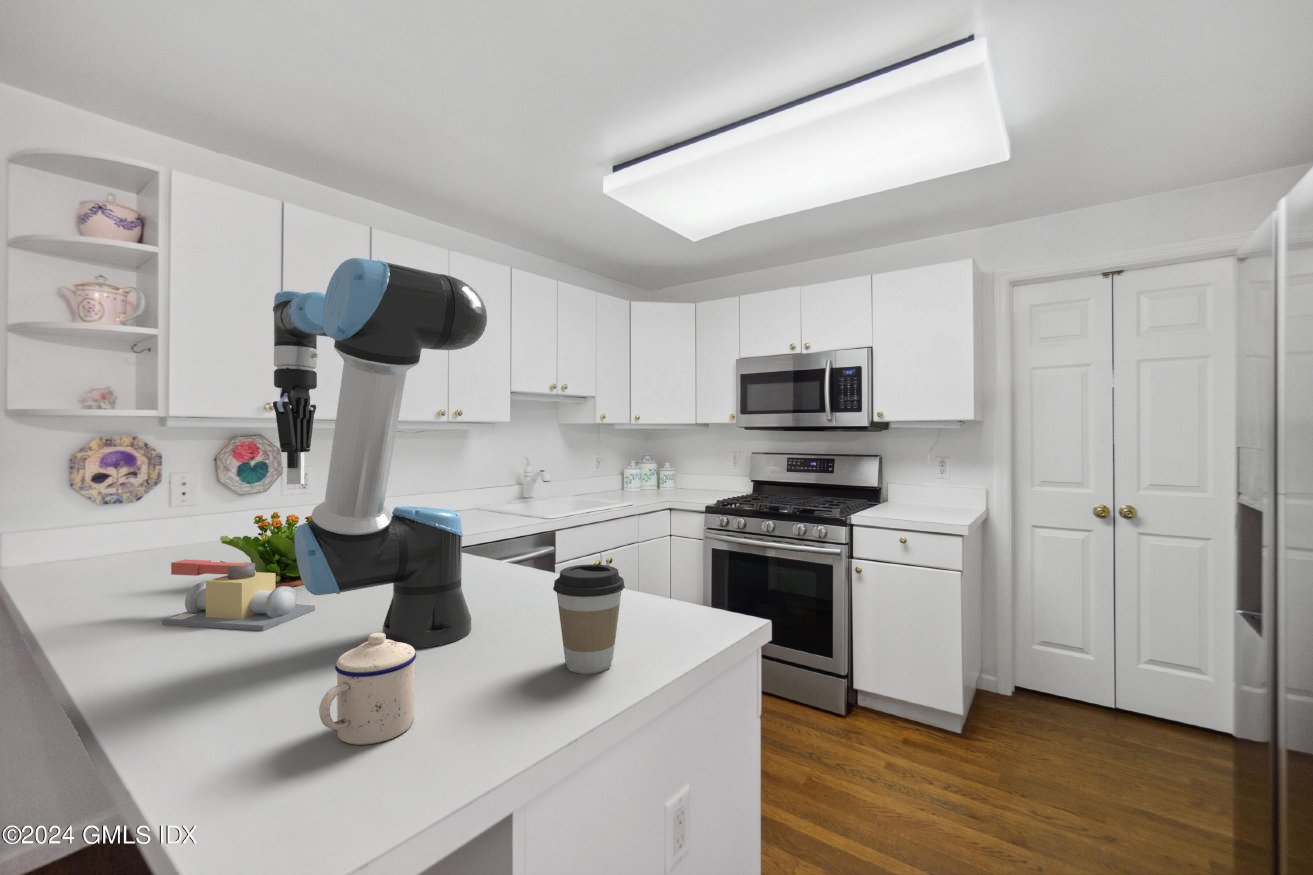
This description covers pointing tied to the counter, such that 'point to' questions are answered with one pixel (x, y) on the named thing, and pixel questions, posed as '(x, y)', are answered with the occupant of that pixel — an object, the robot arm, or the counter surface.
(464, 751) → the counter surface
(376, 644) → the teacup with lid
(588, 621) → the coffee cup
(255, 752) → the counter surface
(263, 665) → the counter surface
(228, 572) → the lever
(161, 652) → the counter surface
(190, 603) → the valve base
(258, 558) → the potted flower
